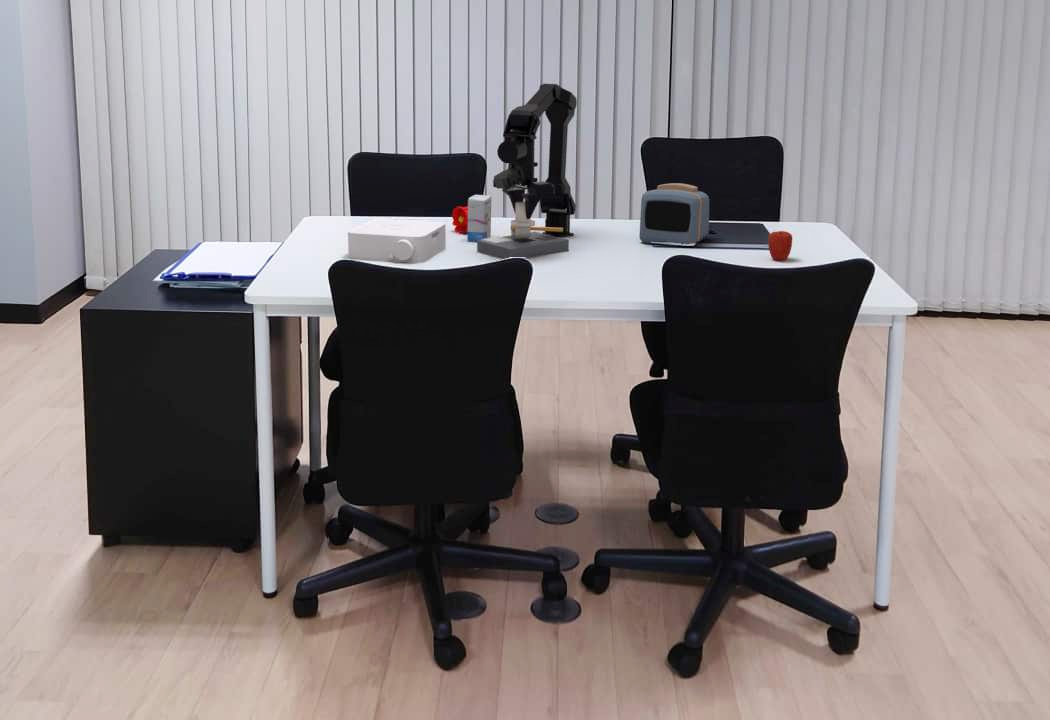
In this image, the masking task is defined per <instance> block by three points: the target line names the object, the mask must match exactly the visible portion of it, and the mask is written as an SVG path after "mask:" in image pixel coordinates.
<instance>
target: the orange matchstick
mask: <svg viewBox="0 0 1050 720" xmlns="http://www.w3.org/2000/svg"><path fill="white" fill-rule="evenodd" d="M511 230H515V226H512V225H511V224H510V231H511ZM530 231H533V232H545V231H559V232H562V231H563V228H554V227H545V226H530Z"/></svg>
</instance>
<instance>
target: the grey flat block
mask: <svg viewBox="0 0 1050 720" xmlns="http://www.w3.org/2000/svg"><path fill="white" fill-rule="evenodd" d="M510 233H511V234H510V235H506V236H495V237H494V236H492V237H489V238H486V239H482V240H478V241H477V242H476V252H477V253H479V254H483V255H484V254H485V255H488V256H491V257H496V258H499V259H503V260H505V259H504V258H509V257H526V258H525V259H528V258H529V259H530V258H534V257H539V256H547V255H552V254H558V253H563V252H569V251H570V250H569V243H570V242H569V240H570V239H567V238H562V237H555V236H551V235H547V234H542V232H539V231H530V237H529V238H518V237H515V230H511V229H510Z"/></svg>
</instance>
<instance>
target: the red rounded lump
mask: <svg viewBox="0 0 1050 720" xmlns="http://www.w3.org/2000/svg"><path fill="white" fill-rule="evenodd" d="M767 239H768V241H767V242H768V243H767V244H768V250H769V254H770V256H771V258H772V260H776V261H777V262H778V261H779V262H783V261H784V262H785V261H786V260H787V259H788V257H790V254H791V251H792V246H793V235H792V234H791V233H790V232H789V231H785V230H781V231H780V230H779V231H772V232H770V233H769V235H768V238H767Z"/></svg>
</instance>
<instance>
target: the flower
mask: <svg viewBox="0 0 1050 720" xmlns="http://www.w3.org/2000/svg"><path fill="white" fill-rule="evenodd" d="M451 217H452V220H453V221H452V225H453V227H454V231H455V233H456V234H457V233H458V234H461V233H463V234H464V233H468V205H467V206H464V207H463V206H460V205H459V206H458V205H457V206H456V208H453V210H452V213H451Z"/></svg>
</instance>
